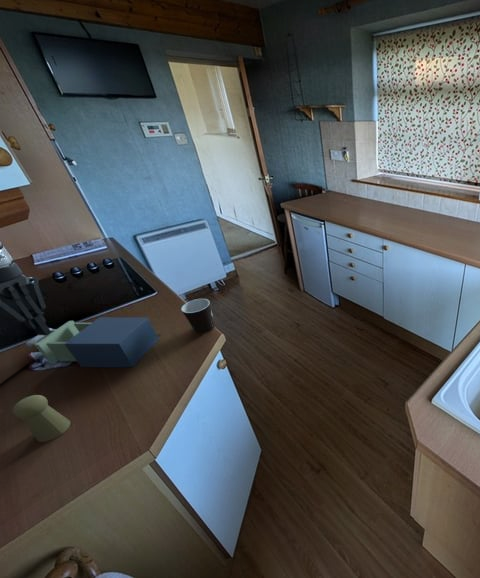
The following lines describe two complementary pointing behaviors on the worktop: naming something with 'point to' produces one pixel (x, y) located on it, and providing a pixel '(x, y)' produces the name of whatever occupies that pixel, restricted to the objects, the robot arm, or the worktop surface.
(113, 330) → the block
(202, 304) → the coffee mug
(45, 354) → the drawer
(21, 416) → the cork
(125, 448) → the worktop surface
